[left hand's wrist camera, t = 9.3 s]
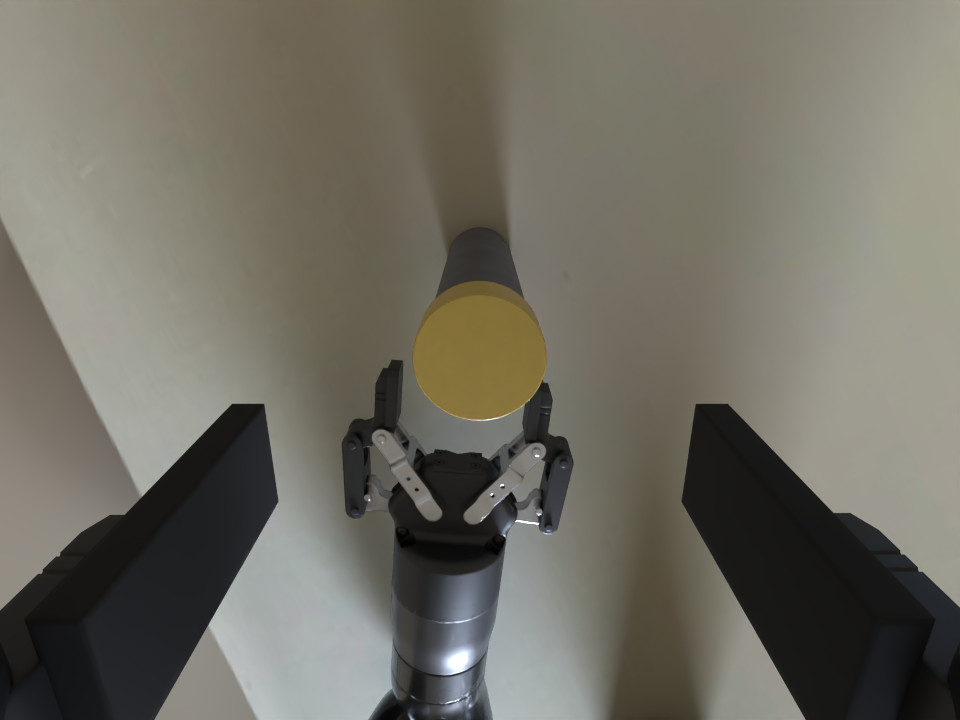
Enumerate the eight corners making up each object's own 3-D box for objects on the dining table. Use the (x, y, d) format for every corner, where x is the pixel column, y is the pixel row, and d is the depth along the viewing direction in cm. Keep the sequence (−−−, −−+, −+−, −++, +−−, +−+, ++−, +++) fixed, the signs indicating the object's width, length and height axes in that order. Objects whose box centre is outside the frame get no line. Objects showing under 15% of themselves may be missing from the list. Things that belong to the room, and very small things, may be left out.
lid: (431, 404, 23) (426, 429, 21) (407, 290, 21) (399, 306, 19) (547, 387, 23) (554, 411, 21) (532, 271, 21) (538, 284, 19)
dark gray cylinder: (454, 294, 39) (432, 416, 21) (443, 233, 37) (410, 308, 20) (515, 285, 38) (544, 400, 21) (506, 222, 37) (530, 290, 19)
